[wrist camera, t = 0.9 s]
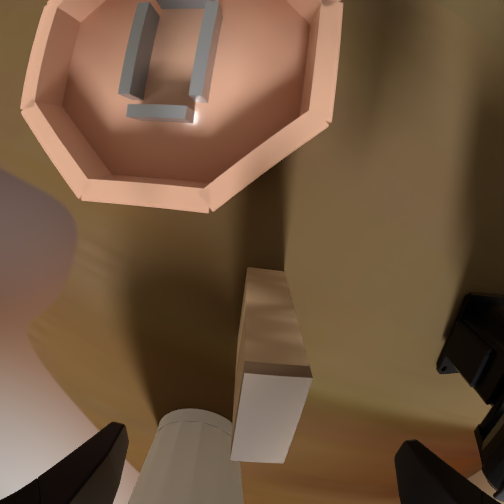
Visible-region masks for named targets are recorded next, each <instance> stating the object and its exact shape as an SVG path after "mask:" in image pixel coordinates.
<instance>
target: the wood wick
mask: <svg viewBox="0 0 504 504" xmlns="http://www.w3.org/2000/svg"><path fill="white" fill-rule="evenodd" d="M312 378H313V377H312V373H311V370H310V366H309V362H308V358H307V354H306V350H305V347H304V343H303V339H302V335H301V332H300V328H299V324H298V320H297V317H296V313H295V309H294V306H293V302H292V298H291V295H290V291H289V287H288V284H287V280H286V277H285V273H284V271H277V270H268V269H260V268H252V267H247V273H246V281H245V288H244V296H243V303H242V310H241V318H240V325H239V333H238V343H237V358H236V374H235V389H234V405H233V421H232V438H231V455H230V460H235V461H247V462H264V463H284V460H285V457H286V455H287V452H288V449H289V447H290V444H291V441H292V439H293V436H294V433H295V430H296V427H297V424H298V421H299V419H300V416H301V413H302V410H303V407H304V404H305V401H306V397H307V394H308V391H309V388H310V385H311V382H312Z"/></svg>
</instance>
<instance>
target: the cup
mask: <svg viewBox="0 0 504 504" xmlns="http://www.w3.org/2000/svg"><path fill="white" fill-rule="evenodd" d="M231 438H232V423H231V422H230V421H229V420H228V419H226V418H224V417H223V416H221V415H218V414H216V413H213V412H210V411H206V410H201V409H179V410H175V411H172V412H170V413H168V414H166V415H165V416H164V417H163V418H162V419H161V420H160V423H159V426H158V429H157V433H156V435H155V438H154V440H153V443H152V445H151V448H150V450H149V452H148V455H147V457H146V460H145V462H144V465H143V467H142V470H141V472H140V475H139V477H138V480H137V482H136V484H135V487H134V489H133V492H132V494H131V497H130V499H129V502H128V504H243V492H242V479H241V466H240V461H235V460H230V455H231Z"/></svg>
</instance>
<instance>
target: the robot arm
mask: <svg viewBox="0 0 504 504" xmlns="http://www.w3.org/2000/svg"><path fill="white" fill-rule="evenodd" d="M470 300H471V301H470ZM436 369H437V371H438V372H439V374H450V373H460V374H461V376H462V377H463V378H464V379H465V381H466V382H467V383H468V384H469V386H470V387H473V388H474V389H475V391H476V392H477V393H478V394H479V396H480V397H481V398H482V400H483V401H484V402H485V403H486V405H488V404H490V405H491V406H492V408H491V409H490V411H489V412H488V414H487V415H486V417H485V418H484V419H483V421H482V422H481V424H479V425H478V426H477V427H476V429H475V430H474V433H475V437H476V441H477V445H478V449H479V453H480V457H481V461H482V472H483V474H484V476H485V478H486V479H487V481H488V483H489V484H490V485H491V486H492V487H493V488H494V489H495V490H497V491H496V493H494V494H493V497H494V498H496V499H498V500H500V501H502V502H504V295H492V294H481V293H468V294H467V295H466V296H465V298H464V301H463V304H462V306H461V309H460V312H459V315H458V317H457V320H456V323H455V325H454V328H453V330H452V333H451V335H450V338H449V340H448V342H447V345H446V347H445V349H444V352H443V354H442V356H441V358H440V361H439V363H438V365H437V368H436ZM128 444H129V440H128V435H127V430H126V426H125V425H124V424H121V423H117V422H111V423H110V424H108V425H107V426H106V427H105V428H103V429H102V430H101V431H99V432H98V433H97V434H95V435H94V436H93V437H92V438H90V439H89V440H88V441H86V442H85V443H84V444H82V445H81V446H80V447H78V448H77V449H76V450H74V451H73V452H72V453H70V454H69V455H68V456H67V457H65V458H64V459H63V460H61V461H60V462H58V463H57V464H56V465H54V466H53V467H52V468H50V469H49V470H47V471H46V472H45V473H43V474H42V475H40V476H39V477H38V479H35V480H33V481H32V482H31V483H29V484H28V485H26V486H25V487H23V488H22V489H20V490H18V491H17V492H15V493H13V494H11V495H9V496H7V497H6V498H4V499H1V500H0V504H113V501H114V498H115V496H116V493H117V490H118V487H119V484H120V480H121V475H122V471H123V466H124V462H125V458H126V453H127V449H128ZM395 468H396V475H397V483H398V491H399V497H400V502H401V504H501V503H499V502H497V501H496V500H495V499H493V498H492V497H490V496H489V495H487V494H486V493H485V492H483V491H481V489H479V488H478V487H477V486H475V485H474V484H473V483H471V482H470V481H469V480H467V479H466V478H465V477H463V476H462V475H461V474H460V473H458V472H457V471H456V470H454V469H453V468H452V467H451V466H449V465H448V464H447V463H445V462H444V461H443V460H442V459H440V458H439V457H438V456H437V455H435V454H434V453H433V452H431V451H430V450H429V449H428V448H426V447H425V446H424V445H423V444H421V443H420V442H419V441H418V440H416V439H412V440H406V441H405V442H404V443H403V444H402V446H401V447H400V449H399V450H398V452H397V453H396V455H395Z"/></svg>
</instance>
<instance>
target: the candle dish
mask: <svg viewBox="0 0 504 504" xmlns="http://www.w3.org/2000/svg"><path fill="white" fill-rule="evenodd" d="M47 4H48V5H47V6H45V7H44V10H43V13H42V16H41V19H40V22H39V26H38V29H37V32H36V36H35V39H34V43H33V47H32V51H31V55H30V59H29V64H28V68H27V73H26V78H25V83H24V89H23V94H22V100H21V107H20V109H23V110H22V111H21V114H22V115H23V117H24V119H25V120H26V122H27V124H28V125H29V127H30V128H31V130H32V132H33V133H34V135H35V136H36V138H37V139H38V141H39V143H40V144H41V146H42V147H43V149H44V150H45V152H46V153H47V155H48V156H49V158H50V159H51V161H52V162H53V164H54V165H55V166H56V168H57V169H58V171H59V172H60V174H61V175H62V177H63V178H64V179H65V181H66V182H67V184H68V185H69V186H70V188H71V189H72V191H73V192H74V193H75V195H76V196H77V197H78V199H79V198H82V201H93V202H104V203H115V204H126V205H136V206H146V207H156V208H165V209H175V210H184V211H193V212H201V213H209V212H210V211H211V210H212V211H213V212H214V211H215V210H216V209H218V208H219V207H220V206H221V205H223V204H224V203H225V202H226V201H228V200H229V199H230V198H232V197H233V196H234V195H236V194H237V193H238V192H239V191H241V190H242V189H243V188H245V187H246V186H247V185H249V184H250V183H251V182H253V181H254V180H255V179H257V178H258V177H259V176H261V175H262V174H263V173H265V172H266V171H267V170H269V169H270V168H271V167H273V166H274V165H275V164H277V163H278V162H279V161H281V160H282V159H284V158H285V157H286V156H288V155H289V154H290V153H292V152H293V151H295V150H296V149H297V148H299V147H300V146H301V145H303V144H304V143H306V142H307V141H308V140H310V139H311V138H313V137H314V136H316V135H317V134H318V133H320V132H321V131H323V130H324V129H325V128H327V127H328V126H329V125H328V123H330V122H332V115H333V107H334V98H335V90H336V81H337V71H338V61H339V51H340V39H341V27H342V14H343V3H341V0H49V1H48V2H47Z"/></svg>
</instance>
